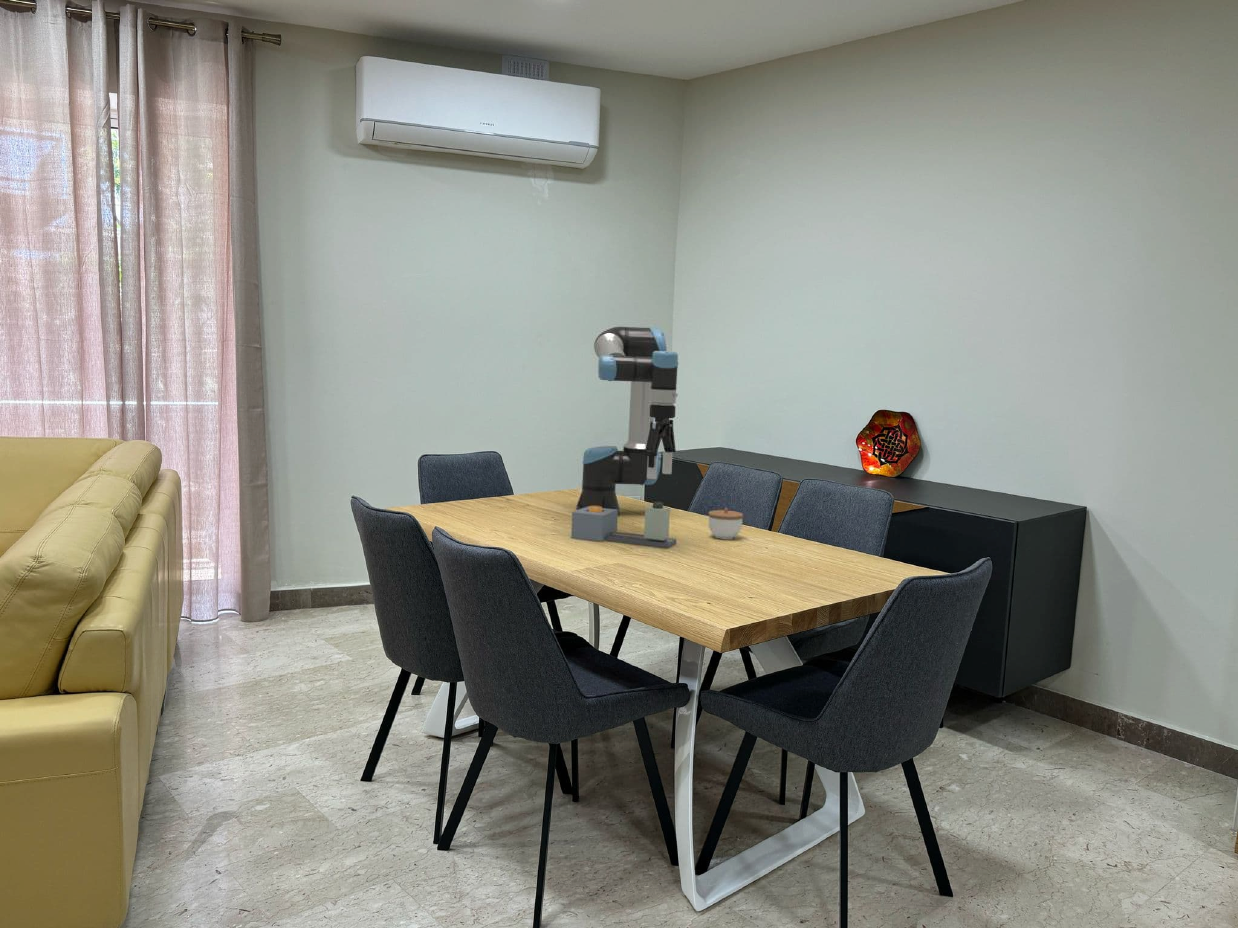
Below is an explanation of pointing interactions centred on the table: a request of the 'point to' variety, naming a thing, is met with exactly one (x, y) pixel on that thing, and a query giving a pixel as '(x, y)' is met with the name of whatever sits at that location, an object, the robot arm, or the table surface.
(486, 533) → the table surface
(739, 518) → the lidded jar
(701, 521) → the table surface
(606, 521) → the grey block
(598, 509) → the button
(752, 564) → the table surface
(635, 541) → the rail board
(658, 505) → the carriage
